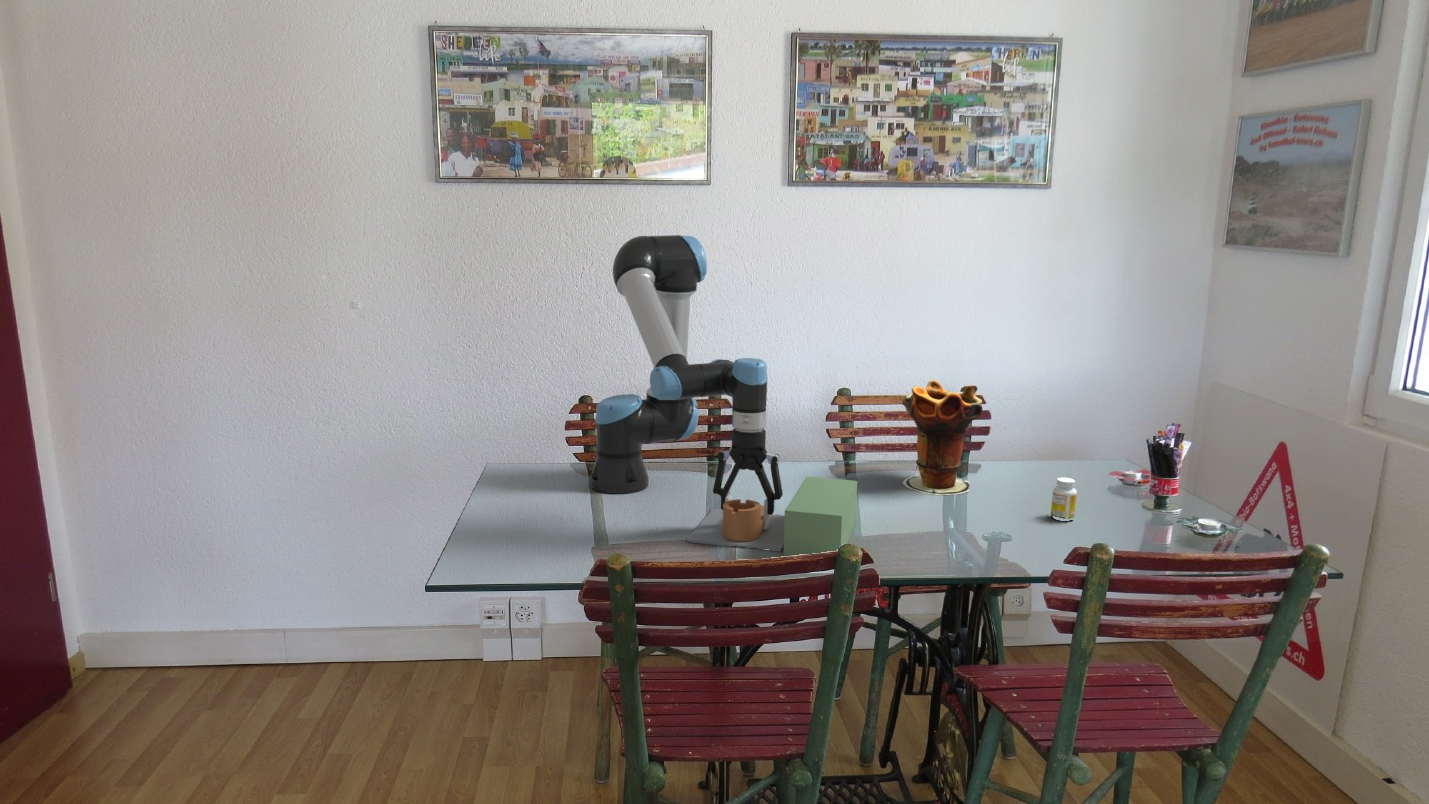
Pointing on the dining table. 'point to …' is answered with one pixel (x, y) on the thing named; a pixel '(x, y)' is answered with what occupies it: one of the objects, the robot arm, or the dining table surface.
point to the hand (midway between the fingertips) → (747, 525)
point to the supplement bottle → (1064, 499)
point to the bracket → (743, 520)
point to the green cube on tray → (797, 521)
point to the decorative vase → (940, 436)
